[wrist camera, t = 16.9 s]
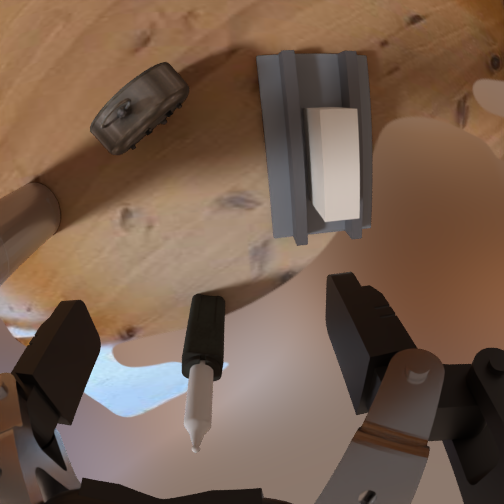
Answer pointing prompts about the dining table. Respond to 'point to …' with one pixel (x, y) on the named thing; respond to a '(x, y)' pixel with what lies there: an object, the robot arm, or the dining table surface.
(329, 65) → the door track
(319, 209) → the white rectangular block
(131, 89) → the alarm clock
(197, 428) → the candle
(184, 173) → the dining table surface
